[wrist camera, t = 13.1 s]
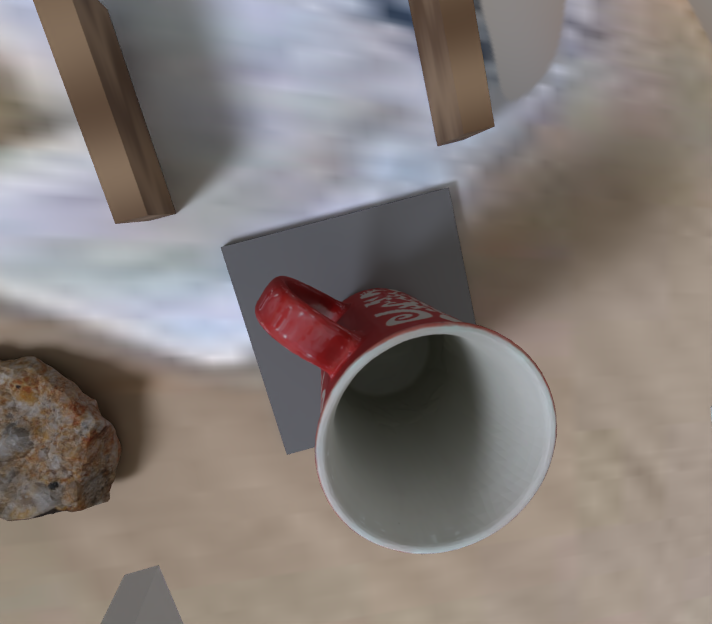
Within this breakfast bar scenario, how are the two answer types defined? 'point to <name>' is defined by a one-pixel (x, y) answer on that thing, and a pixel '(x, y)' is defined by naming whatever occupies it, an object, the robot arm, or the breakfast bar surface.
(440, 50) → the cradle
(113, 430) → the rock
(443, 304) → the coaster
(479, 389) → the mug
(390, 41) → the breakfast bar surface
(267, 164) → the breakfast bar surface
